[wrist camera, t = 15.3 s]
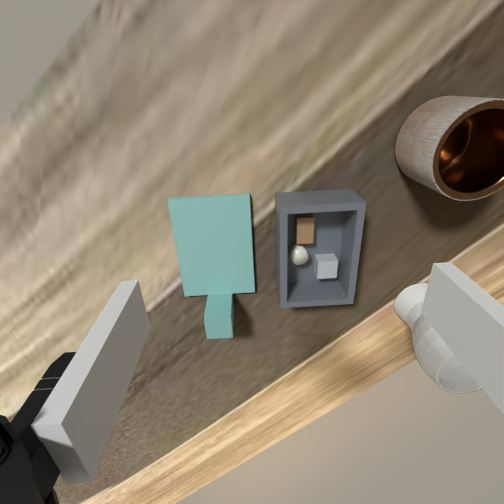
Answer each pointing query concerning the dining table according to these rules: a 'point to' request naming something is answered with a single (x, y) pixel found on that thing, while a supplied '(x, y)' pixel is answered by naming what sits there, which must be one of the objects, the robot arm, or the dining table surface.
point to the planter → (455, 146)
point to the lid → (214, 253)
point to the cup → (432, 344)
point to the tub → (318, 246)
